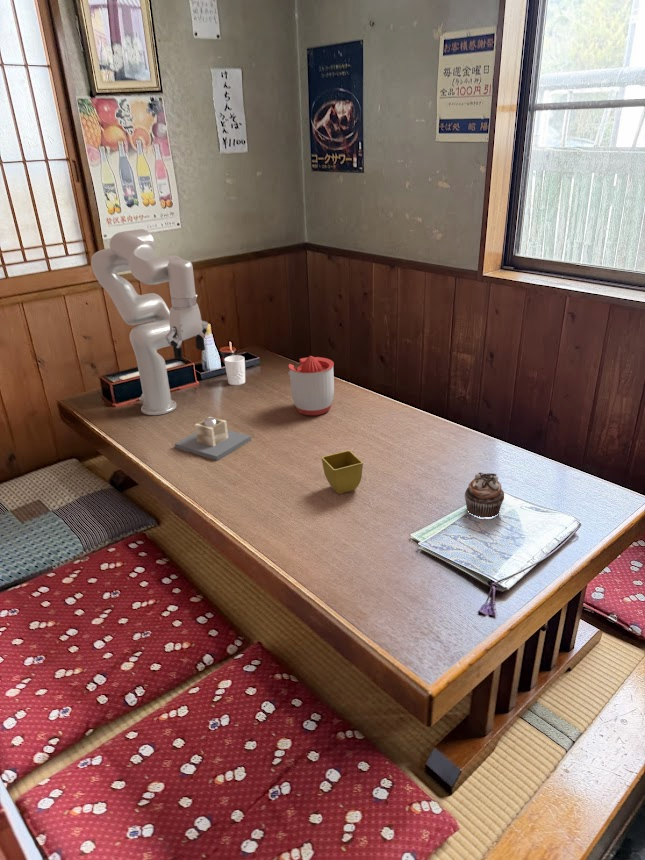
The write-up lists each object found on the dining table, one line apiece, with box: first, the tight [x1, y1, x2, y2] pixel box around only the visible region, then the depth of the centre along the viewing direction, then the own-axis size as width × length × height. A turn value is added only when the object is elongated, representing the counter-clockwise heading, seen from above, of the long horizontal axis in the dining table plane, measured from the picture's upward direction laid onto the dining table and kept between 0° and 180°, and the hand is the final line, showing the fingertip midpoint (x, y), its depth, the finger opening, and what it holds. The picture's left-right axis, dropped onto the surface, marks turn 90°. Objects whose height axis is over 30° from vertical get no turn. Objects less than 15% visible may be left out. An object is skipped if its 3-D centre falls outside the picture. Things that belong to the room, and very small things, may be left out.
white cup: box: [223, 354, 246, 386], centre depth 250 cm, size 8×8×10 cm
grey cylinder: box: [203, 417, 217, 427], centre depth 201 cm, size 4×4×7 cm
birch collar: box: [194, 416, 229, 447], centre depth 201 cm, size 7×7×6 cm
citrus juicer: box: [287, 355, 335, 416], centre depth 221 cm, size 16×17×20 cm
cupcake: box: [464, 472, 505, 517], centre depth 159 cm, size 10×10×10 cm
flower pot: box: [321, 450, 364, 495], centre depth 172 cm, size 9×9×9 cm
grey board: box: [174, 429, 252, 462], centre depth 203 cm, size 18×16×2 cm
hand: (190, 354), depth 203 cm, fingers open, 9 cm apart
